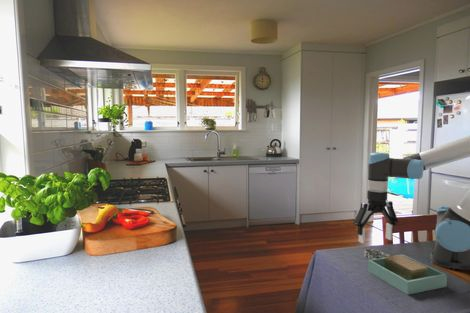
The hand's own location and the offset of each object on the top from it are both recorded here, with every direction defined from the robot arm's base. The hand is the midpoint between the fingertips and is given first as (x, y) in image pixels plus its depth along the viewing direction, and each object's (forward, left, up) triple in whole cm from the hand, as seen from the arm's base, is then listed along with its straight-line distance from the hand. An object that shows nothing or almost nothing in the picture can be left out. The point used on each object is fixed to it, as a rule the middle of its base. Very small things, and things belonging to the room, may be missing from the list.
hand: (375, 240), depth 132 cm
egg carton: (0, 0, -9) cm, 9 cm away
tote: (+3, +18, -8) cm, 20 cm away
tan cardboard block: (+3, +18, -7) cm, 20 cm away
